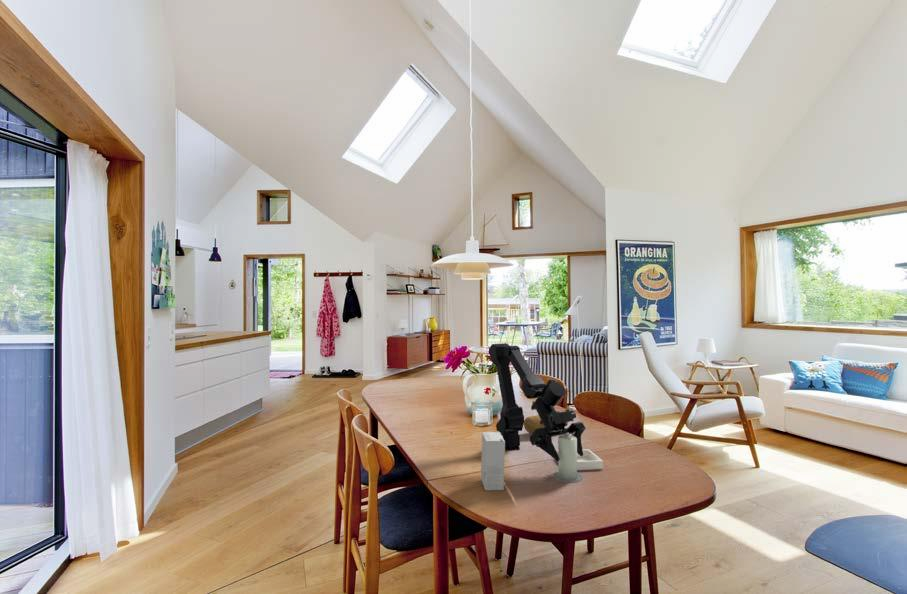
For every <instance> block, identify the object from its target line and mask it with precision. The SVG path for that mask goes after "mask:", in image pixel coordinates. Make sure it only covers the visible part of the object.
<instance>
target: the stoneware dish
mask: <svg viewBox="0 0 907 594" xmlns="http://www.w3.org/2000/svg"><path fill="white" fill-rule="evenodd" d="M582 450H583V456H580V455H579V454H578V453H577V471H589V470H590V471H592V470H593V471H594V470H604V460H603V459H602V458H600V457H599V456H598V455H596V454H595V453H594V452H593V451H591V450H590V449H587V448H585V449H583V448H582ZM556 452H557V454H558V449H557V450H556Z"/></svg>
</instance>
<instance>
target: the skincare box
mask: <svg viewBox="0 0 907 594" xmlns="http://www.w3.org/2000/svg"><path fill="white" fill-rule="evenodd" d="M505 454H506V450H505V441H504V439H503V436H502V435H501V434H500V432H499V431H493V432H492V431H490V432H489V431H488V432H487V431H483V432H481V460H480V461H481V465H480V466H481V467H480V480H481V482H482V484H483V488H484V491H505V463H506V462H505V460H506V459H505V457H506V455H505Z"/></svg>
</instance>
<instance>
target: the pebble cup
mask: <svg viewBox="0 0 907 594" xmlns="http://www.w3.org/2000/svg"><path fill="white" fill-rule="evenodd" d="M557 440H558V441H557V442H558V443H557V445H558V446H557V447H558V449H557V450H558V456H559V459H560V460H559V461H557V462H558V471H557V472H558V476H559V478H561V479H564V480H575V479H577V474H578V470H577V438H576V437H574V436H572V435H571V434H569V433H565V435H561V436H557Z"/></svg>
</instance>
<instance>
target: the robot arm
mask: <svg viewBox="0 0 907 594" xmlns="http://www.w3.org/2000/svg"><path fill="white" fill-rule="evenodd" d="M488 355H489V357H490V358H489V359H490V361H491V363H492V364H493V365H494V366H495V367H496V372H497V378H498V384H499V385H498V386H499V390H500V395H501V396H500V397H501V401H502V406H501V410H500V412H499V416H500V418H499V420H498V421H497V422H496V424H495V427H496V432H500V434H501V435H502V436H503V439H504V441H505V451H510V450H511V451H513V450H520V449H521V448H520V446H521V435H520V433H519V432H522V431H523V428H524V420H525V415H524V409H523V407H522V406H519V405H518V404H517V401H516V396H515V391H514V386H513V380H512V373H511V369H510V364H511V365H512V367H513V368H514V370H515V372H516V374H517V375H518V377H519V379H520V381H521V385H520V387H521V389H522V391H523V392H522V393H523V394H524V396H525V398H526V399H529V400H531V399H535V401H532V405H531V408H530V409H531V411H536V413H537V415H539V417H540V419H541V421H540V424H541V425H544V427H545V428H539V429H536V430H535V431H534V432H533V433H532V434H530V436H529V442H530V444H531V445H532V446H536V448H540V449H541V450H542V451H543V452H545V453H547V454H548V455H549V456H550V457H551V458H552V459H554V460H555V461H556V462H558V461H559V460H560V459H559V456H558V454H557V450H556V448H555V446H554V444H553V439H552V438H555V437H559V436H562V435H565V433H569V434H571V435H572V436H574V437H576V438H577V453H578V454H579V455H580V456H583V450H582V449H583V445H582V435H583V433H584V432H585V430H587V428H586V426H585V424H584V423H583V422H582V421H578V422H574V419H576V418H577V413H576V411H575V410H574V408H573V407H572V408H571V407H570V408H568V409H565V410H564V411H559V410H558V411H557V410H556V408H555V406H557V405H558V404H559V403H560V402H561V400H562V399H563V398H564V396H566V394H567V391H566V388H565V386H563V385H562V384H561V383H559V382H557V381H556V380H555V379H554V378H553V379H549V380H548V381H547V382H546V383H545V381H544V379H542V378H541V377H540V376H539V375H537V374H535V373H534V372H533V369H532V368H531V367H530V365H529V363H528V362H527V361H526V359H525V357H524V355H523V353H522V351H521V349H520V347H519V346H518V345H509V343H492V344H491V345H490V346H489V348H488ZM570 422H572V423H570ZM569 423H570V425H569V426H568V424H569ZM567 426H568V427H567ZM566 427H567V428H566Z"/></svg>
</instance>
